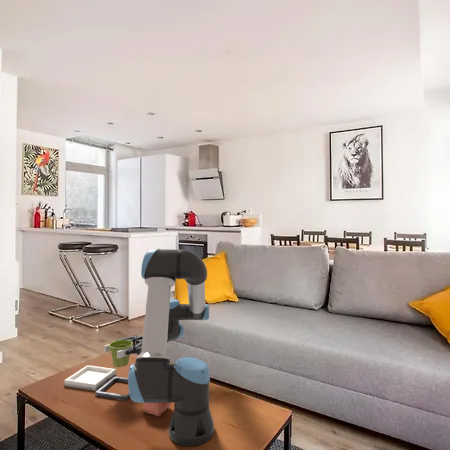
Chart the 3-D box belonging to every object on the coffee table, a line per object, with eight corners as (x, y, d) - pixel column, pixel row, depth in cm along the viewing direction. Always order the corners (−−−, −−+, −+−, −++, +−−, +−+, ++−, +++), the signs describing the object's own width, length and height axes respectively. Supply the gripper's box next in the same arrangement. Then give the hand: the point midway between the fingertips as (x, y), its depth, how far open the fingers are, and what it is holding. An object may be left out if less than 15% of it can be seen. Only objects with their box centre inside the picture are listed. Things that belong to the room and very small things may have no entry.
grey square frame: (126, 400, 128) (126, 397, 128) (95, 395, 132) (95, 392, 132) (143, 383, 142) (143, 380, 142) (115, 379, 145) (115, 376, 145)
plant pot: (125, 370, 131) (125, 348, 131) (104, 368, 133) (104, 346, 133) (136, 361, 141) (136, 340, 141) (116, 358, 142) (116, 339, 142)
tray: (95, 390, 136) (95, 384, 136) (64, 385, 140) (64, 379, 140) (115, 374, 150) (115, 369, 150) (87, 370, 154) (87, 365, 154)
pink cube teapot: (148, 401, 128) (149, 380, 128) (175, 409, 123) (175, 387, 123) (136, 412, 121) (136, 390, 121) (163, 420, 116) (163, 397, 116)
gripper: (170, 351, 144) (126, 368, 127) (140, 340, 158) (96, 354, 140) (170, 334, 144) (126, 349, 127) (140, 324, 158) (97, 336, 140)
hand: (111, 352), depth 133 cm, fingers closed on plant pot, 9 cm apart
